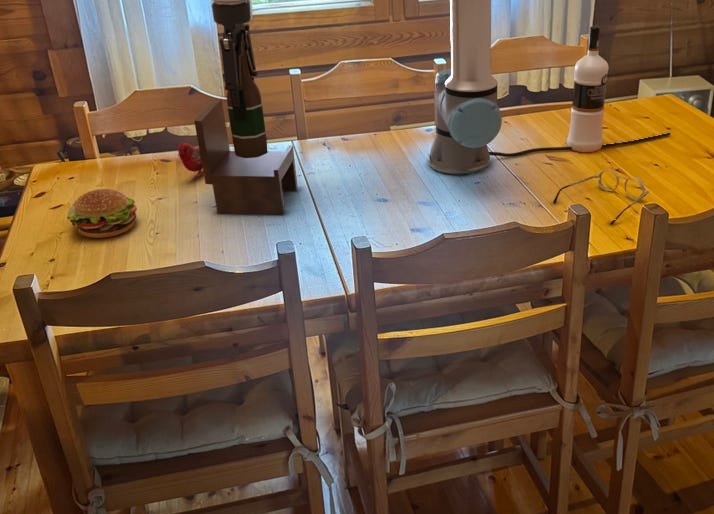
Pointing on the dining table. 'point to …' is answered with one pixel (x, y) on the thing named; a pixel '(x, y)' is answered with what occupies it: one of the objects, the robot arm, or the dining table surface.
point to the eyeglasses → (610, 190)
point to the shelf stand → (242, 170)
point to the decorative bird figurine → (190, 158)
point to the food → (103, 213)
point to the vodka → (588, 98)
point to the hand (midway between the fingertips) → (246, 113)
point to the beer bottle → (251, 132)
